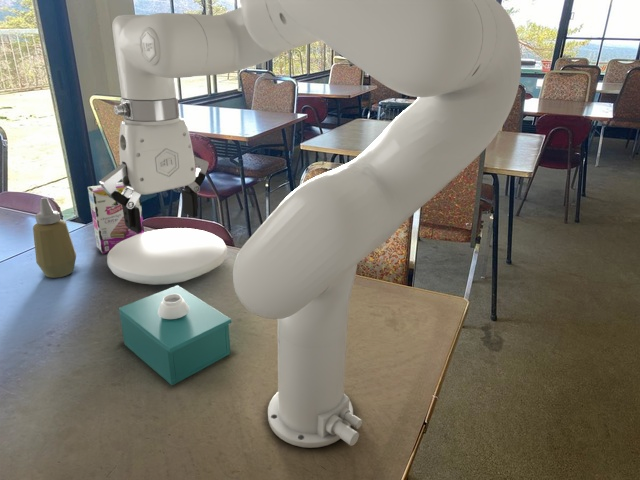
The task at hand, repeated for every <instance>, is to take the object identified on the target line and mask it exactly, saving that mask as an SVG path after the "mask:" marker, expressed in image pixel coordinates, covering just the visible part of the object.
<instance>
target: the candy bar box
mask: <svg viewBox="0 0 640 480" xmlns="http://www.w3.org/2000/svg"><path fill="white" fill-rule="evenodd" d="M115 187H116V189H117V190H118V192H119V193H122V192H123V190H124V188H125V186H124V185H123V182H122V181H119V182H117V183H116V185H115ZM87 193H88V199H89V206H90V212H91V218H92V225H93V232H94V237H95V243H96V248H97V249H98V250H99V252H101V254H108V253H109V251H110V250H111V249H112V248H113V247H114V246H115V245H116V244H118V243H119V242H121V241H123V240H125V239H127V238H130V237H132V236H134V235H137V233H135V232H134V231H132V230H130V229H129V228H128V227H126V225H125V221H124V214H123V208H122V205H121V204H119V203H118V202H116V201H115V200H113V199H112V198H110V197H109V196H108V194H107V193H106V192H105V190H104V189H103V188H102V187H101V185H100V184H97V185H92V186H87ZM135 206H136V207H138V208H139V211H140V219H141V226H142V231H141V233H144V232H145V226H144V217H143V209H142V208H143V207H142V201H141V197H140V198H139V199H138V201H137V203H136V205H135ZM141 233H138V234H141Z"/></svg>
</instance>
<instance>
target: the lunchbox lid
mask: <svg viewBox="0 0 640 480" xmlns="http://www.w3.org/2000/svg"><path fill="white" fill-rule="evenodd" d="M169 294H179V295H181V297H182V298H183V299H184V301H185V302H186V303H187V305H188V306H189V312H188V313H187V314H186V315H185V316H183V317H181V318H177V319H164V318H162V317H160V316H159V314H158V309H159V307H160V305H161V302H162V301H163V298H164V297H165V296H167V295H169ZM118 312H120V313H121V314H123V315H124V316H125V317H126V318H128V319H129V320H130V321H131V322H133V323H134V324H135V325H136V326H138V327H139V328H140V329H141V330H143V331H144V332H145V333H146V334H148V335H149V336H150V337H151V338H153V339H154V340H155V341H156V342H158V343H159V344H160V345H161V346H163V347H164V348H165V349H166V350H168V351H169V352H170V353H171V352H173V351H175V350H177V349H179V348H181V347H183V346H185V345H187V344H190V343H192V342H194V341H196V340H198V339H200V338H202V337H204V336H206V335H208V334H210V333H212V332H214V331H216V330H218V329H220V328H222V327H224V326H226V325H228V324H229V325H231V324H232V319H231V317H228V316H227V315H225V314H224V313H222V312H221V311H219V310H218V309H216V308H214V307H213V306H211V305H210V304H208V303H206V302H205V301H203V300H202V299H200V298H199V297H197V296H195V295H194V294H192V293H191V292H190V291H188V290H186V289H185V288H183V287H181V286H180V285H178V284H177V285H174V286H172V287H169V288H167V289H164V290H162V291H159V292H157V293H153V294H151V295H149V296H146V297H143V298H140V299H137V300H136V301H132V302H130V303H127V304H125V305H123V306H120V307H119V308H118ZM120 313H119V314H120Z"/></svg>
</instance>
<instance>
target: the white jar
mask: <svg viewBox="0 0 640 480" xmlns="http://www.w3.org/2000/svg"><path fill="white" fill-rule="evenodd" d="M188 312H189V306H188V305H187V303H186V302H185V301H184V299H183V298H182V297H181V295H179V294H169V295H167V296H165V297H164V298H163V301H162V302H161V305H160V307H159V309H158V314H159V316H160V317H162V318H164V319H177V318H181V317H183V316H185V315H186V314H187V313H188Z"/></svg>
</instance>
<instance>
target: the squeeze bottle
mask: <svg viewBox="0 0 640 480" xmlns="http://www.w3.org/2000/svg"><path fill="white" fill-rule="evenodd" d="M39 207H40V209H39V212H38V213H36V214H35V216H34V218H35V222H36V223H35V224H34V225H33V226H32V235H33V243H34V252H35V253H34V254H35V260H36V264H37V266H38V267H39V268H40V270H41V271H42V274H44V276H45V277H47V278H51V279H52V278H53V279H58V278H63V277H66V276H68V275H70V274H72V273H73V272H74V271H75V265H76V261H77V260H76V259H77V252H76V249H75V246H74V243H73V240H72V237H71V234H70V231H69V228H68V225H67V222H66V221H64V219H63V220H62V219H61V215H60V212H59V211H58V210H54V209H53V207H52V205H51V203H50V201H49V199H48V197H46V196H43V197H41V198H40V206H39Z"/></svg>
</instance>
